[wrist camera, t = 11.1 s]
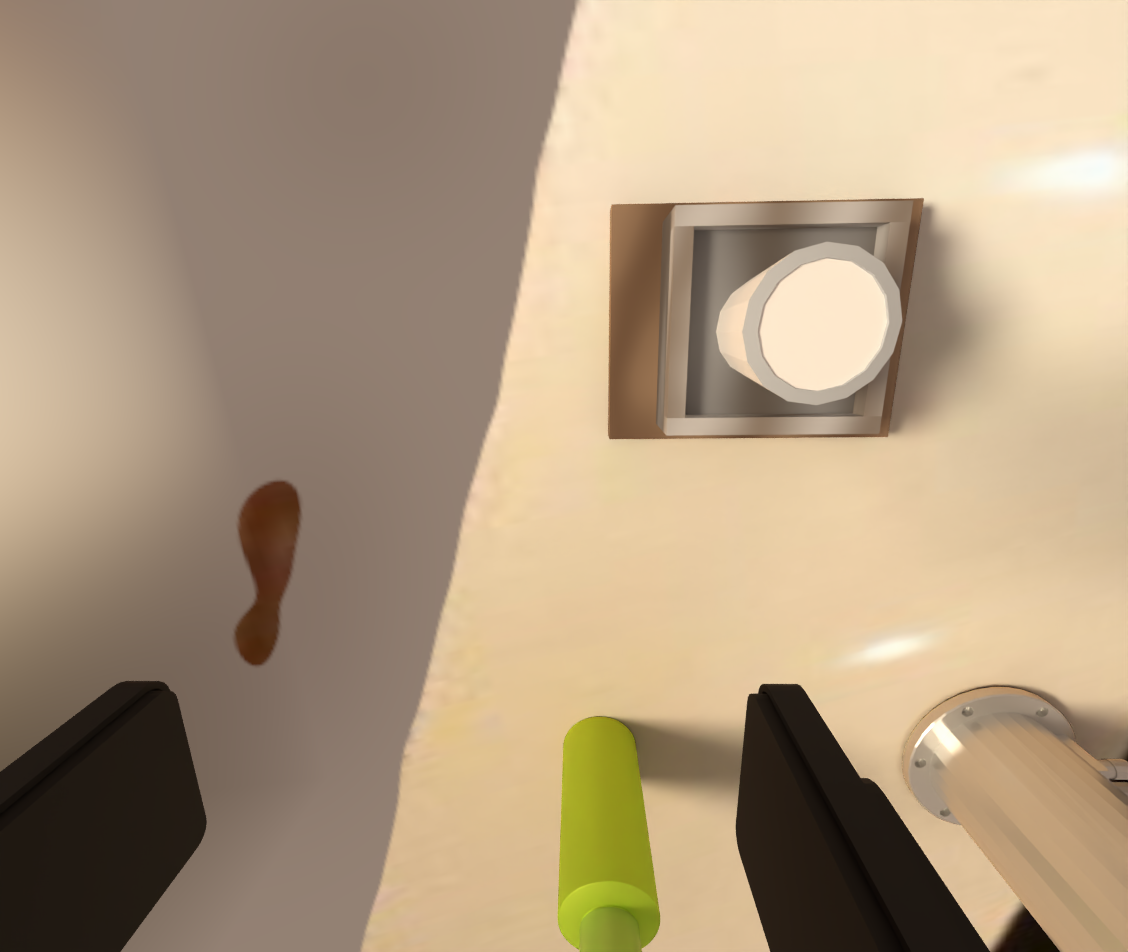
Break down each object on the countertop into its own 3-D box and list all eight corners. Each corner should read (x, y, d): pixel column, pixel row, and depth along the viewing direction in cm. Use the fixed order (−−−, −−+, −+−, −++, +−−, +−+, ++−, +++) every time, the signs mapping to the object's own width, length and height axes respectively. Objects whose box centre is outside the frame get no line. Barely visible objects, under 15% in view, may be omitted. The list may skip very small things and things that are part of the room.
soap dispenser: (628, 789, 44) (668, 1151, 24) (552, 761, 43) (531, 1108, 24) (659, 736, 42) (729, 1076, 23) (581, 706, 42) (584, 1029, 22)
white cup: (832, 258, 28) (913, 234, 22) (824, 386, 30) (896, 400, 23) (705, 267, 29) (745, 247, 22) (704, 393, 30) (741, 410, 24)
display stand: (907, 204, 32) (977, 177, 26) (874, 432, 35) (929, 450, 30) (610, 210, 32) (617, 184, 27) (608, 434, 36) (614, 452, 30)
